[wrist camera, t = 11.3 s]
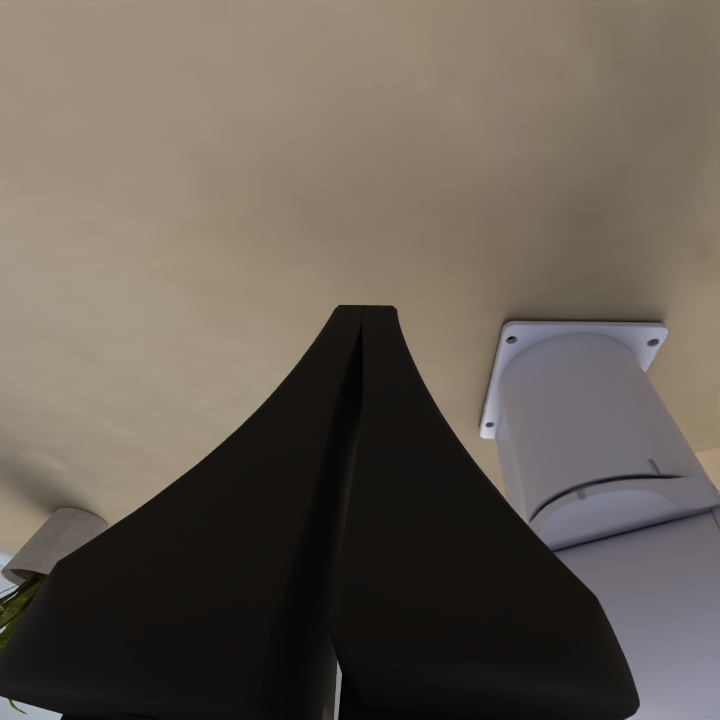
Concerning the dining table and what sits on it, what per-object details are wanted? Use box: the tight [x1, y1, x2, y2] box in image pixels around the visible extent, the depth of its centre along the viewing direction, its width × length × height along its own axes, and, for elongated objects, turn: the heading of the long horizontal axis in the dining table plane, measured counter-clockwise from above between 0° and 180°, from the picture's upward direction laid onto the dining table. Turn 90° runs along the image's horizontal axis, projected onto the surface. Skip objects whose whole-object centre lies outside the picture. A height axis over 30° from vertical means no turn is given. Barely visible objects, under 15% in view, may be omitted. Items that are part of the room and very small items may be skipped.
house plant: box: [0, 507, 107, 713], centre depth 36 cm, size 14×14×16 cm
